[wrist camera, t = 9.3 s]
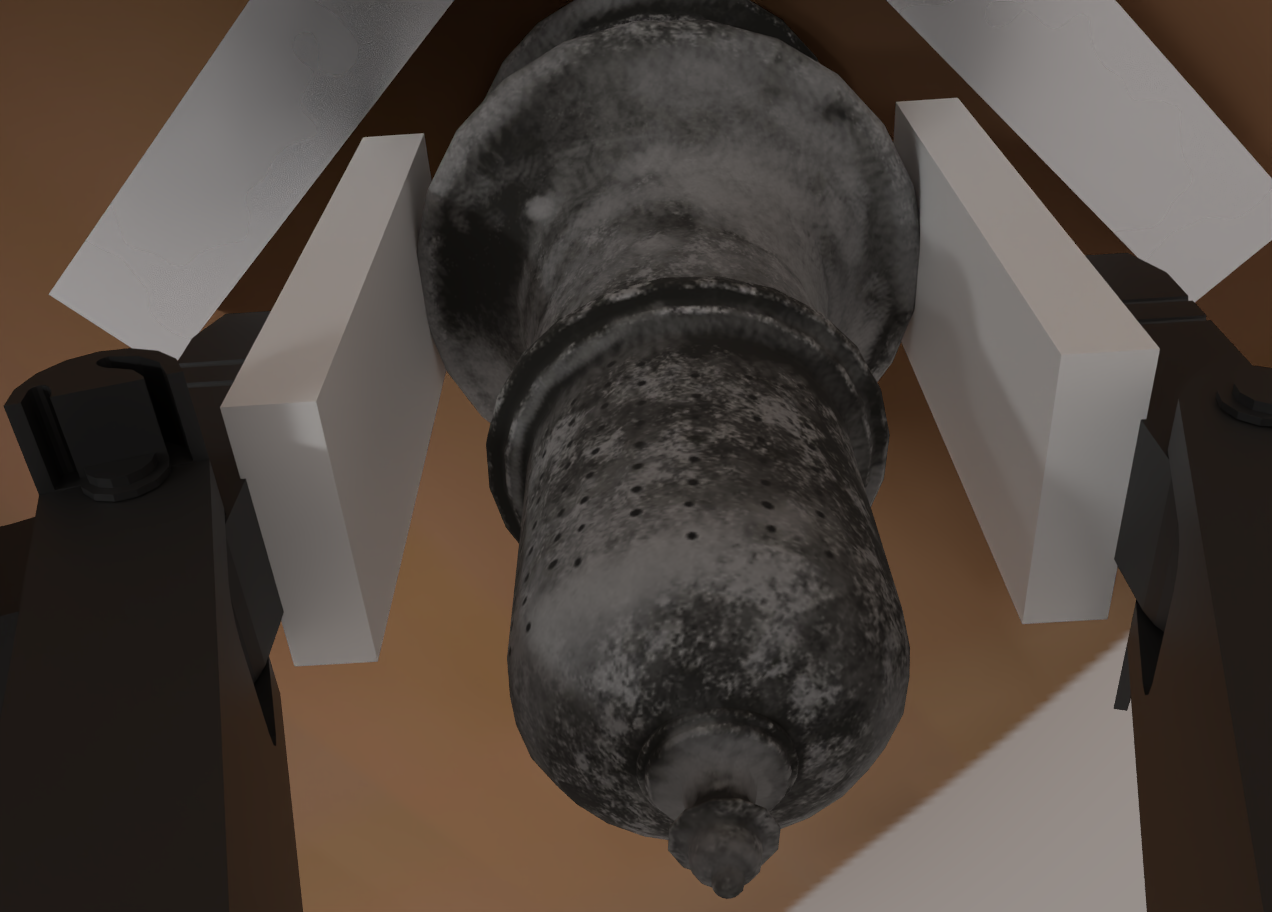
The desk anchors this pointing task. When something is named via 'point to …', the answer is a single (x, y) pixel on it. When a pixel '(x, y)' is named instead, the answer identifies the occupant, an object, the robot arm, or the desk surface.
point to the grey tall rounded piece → (684, 411)
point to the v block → (413, 3)
